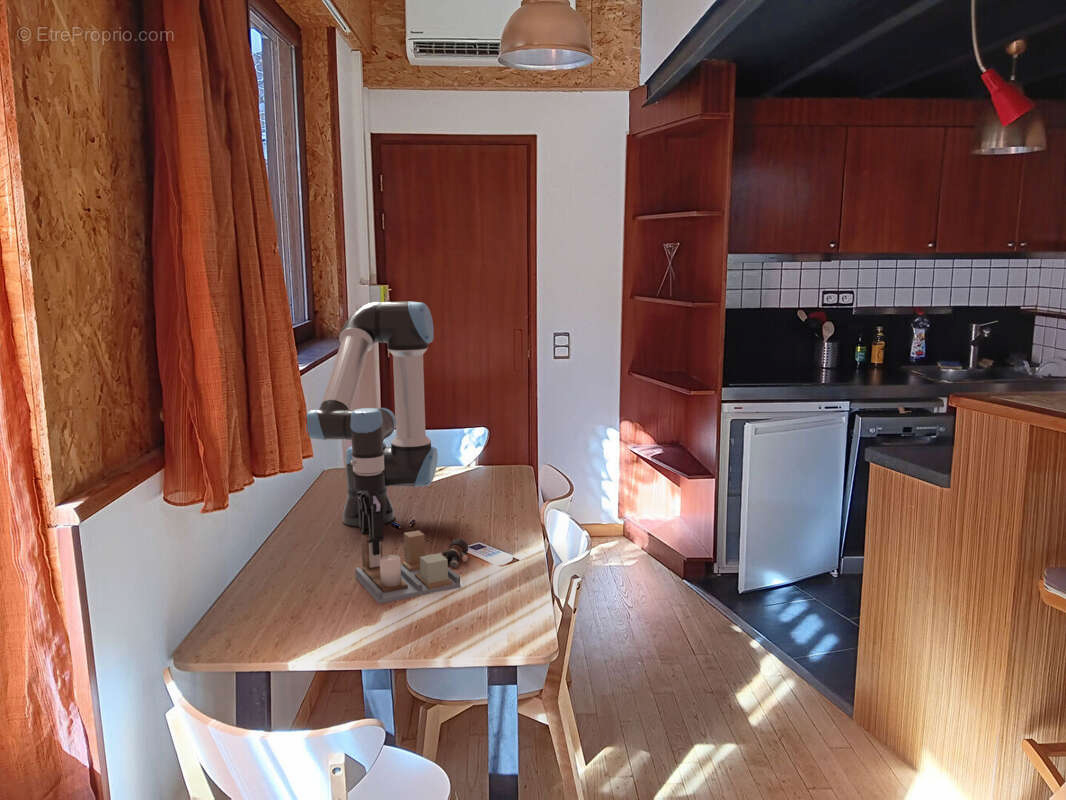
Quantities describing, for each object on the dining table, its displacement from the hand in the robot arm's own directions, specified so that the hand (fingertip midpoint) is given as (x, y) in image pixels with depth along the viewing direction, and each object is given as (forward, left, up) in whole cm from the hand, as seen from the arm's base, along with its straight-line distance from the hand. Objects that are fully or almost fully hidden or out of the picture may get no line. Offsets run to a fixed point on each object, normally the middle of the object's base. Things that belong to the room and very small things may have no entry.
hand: (372, 563), depth 208 cm
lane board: (+11, +5, -2) cm, 12 cm away
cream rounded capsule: (+14, 0, 0) cm, 14 cm away
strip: (+7, 0, -1) cm, 8 cm away
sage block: (+16, +10, 0) cm, 19 cm away
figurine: (+3, +21, -3) cm, 21 cm away
